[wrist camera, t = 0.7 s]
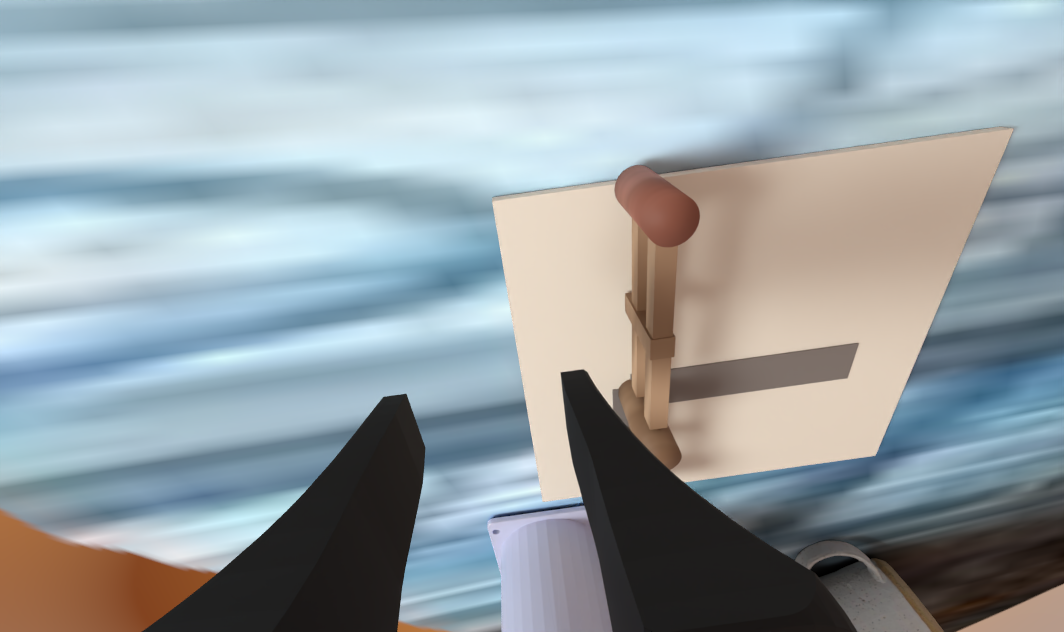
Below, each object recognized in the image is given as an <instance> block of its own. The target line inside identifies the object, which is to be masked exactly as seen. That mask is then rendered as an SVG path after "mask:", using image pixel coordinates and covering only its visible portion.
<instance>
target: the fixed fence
mask: <svg viewBox="0 0 1064 632" xmlns="http://www.w3.org/2000/svg"><path fill="white" fill-rule="evenodd" d="M618 396H619V399H620V402H621V405H622V407H623V410H624V413H625V416H626V419H627V421H628V424H629V427H628V428H629V429H630V430H631V431H632V433H633V434H634V435H635V436H636V437H637V438H638V439H639V440H640V441H641V442H642V443H643V444H644V445H645V446H646V447H647V448H648V449H649V451H650V452H651V453H652V454H653V455H654V456H656V457H657V458H658V459H659V460H660V461H661V462H662V463H663V464H664V465H665V466H666V467H667V468H668V469H669V470H671V469H673V468H674V467H676V466H677V465H678V464H679V462H680V461H681V458H682V454H681V452H680V449H679V447H678V445H677V443H676V441H675V439H674V437H673V434H672V432H671V430H670V428H669V426H668V424H667V428H661V429H654V430H650V429H649V427H648V424H647V422H646V419H645V417H644V401H645V397H638V398H637V397H636V395H635V393H634V390H633V388H632V380H630V379H629V380H627V381H625V382H624V383H622V384H621V386H620V387H619V392H618Z"/></svg>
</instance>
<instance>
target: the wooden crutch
mask: <svg viewBox="0 0 1064 632" xmlns="http://www.w3.org/2000/svg"><path fill="white" fill-rule="evenodd" d="M614 191H615V196H616V199H617V201H618V202H619V203H620V204H621V206H622V207H623V208H624V209H625V210H626V212H627V213H628V214H629V215H630V216H631V217H632V292H631V293H625V312H626V314H627V316H628V318H629V320H630V322H631V324H632V388H633V390H634V393H635V395H636V397H637V398H638V397H645V401H644V417H645V419H646V422H647V424H648V427H649V429H650V430H654V429H661V428H667V424H668V407H669V390H670V374H671V357H674V355H675V339H676V337H675V335H674V334H673V323H674V306H675V289H676V272H677V255H678V245H680V244H682V243H684V242H686V241H687V240H688V239H689V238H690V237H691V236H692V235H693V234H694V232H695V231H696V229H697V227H698V224H699V220H700V212H699V208H698V206H697V204H696V202H695V201H694V200H693V199H691V198H690V197H689V196H687V195H686V194H684V193H683V192H682V191H680V190H679V189H678V188H676V187H675V186H673V185H672V184H671V183H669V182H668V181H666V180H665V179H664V178H662V177H661V176H659V175H658V174H657V173H655V172H654V171H653V170H651V169H650V168H648V167H646V166H643V165H635V166H631V167H629V168H627V169H626V170H624V171H623V172H622V173H621V174H620V175H619V177H618V179H617V181H616V183H615V189H614Z"/></svg>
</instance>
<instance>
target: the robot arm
mask: <svg viewBox="0 0 1064 632" xmlns="http://www.w3.org/2000/svg"><path fill="white" fill-rule="evenodd" d="M560 373H561V382H562V391H563V401H564V410H565V419H566V428H567V434H568V440H569V446H570V452H571V457H572V463H573V467H574V470H575V474H576V477H577V481H578V485H579V488H580V492H581V495H582V499H583V502H584V506H578V507H571V508H563V509H556V510H549V511H542V512H535V513H528V514H520V515H513V516H506V517H499V518H493V519H490V520H489V521H488V531H489V535H490V538H491V542H492V545H493V549H494V552H495V556H496V559H497V563H498V566H499V570H500V573H501V617H502V632H857V630H856V628H855V627H854V625H853V624H852V622H851V620H850V619H849V617H848V616H847V614H846V613H845V611H844V610H843V608H842V607H841V606H840V605H839V603H838V602H837V601H836V599H835V598H834V597H833V595H832V594H831V593H830V591H829V590H828V589H827V588H826V586H825V585H824V584H823V582H822V581H821V580H820V579H819V577H818V576H817V575H816V574H815V573H814V572H812V571H811V570H809V569H808V568H806V567H804V566H803V565H801V564H799V563H798V562H796V561H794V560H793V559H791V558H789V557H788V556H786V555H784V554H783V553H781V552H779V551H778V550H776V549H775V548H773V547H771V546H770V545H768V544H767V543H765V542H764V541H762V540H761V539H759V538H758V537H756V536H755V535H753V534H752V533H750V532H749V531H747V530H746V529H745V528H743V527H742V526H740V525H739V524H737V523H736V522H734V521H733V520H732V519H730V518H729V517H728V516H726V515H725V514H724V513H722V512H721V511H720V510H718V509H717V508H716V507H714V506H713V505H712V504H711V503H709V502H708V501H707V500H705V499H704V498H703V497H701V496H700V495H699V494H697V493H696V492H695V491H694V490H692V489H691V488H690V487H689V486H688V485H687V484H685V483H684V482H683V481H682V480H681V479H680V478H678V477H677V476H676V475H675V474H674V473H673V472H672V471H671V470H669V469H668V468H667V467H666V466H665V465H664V464H663V463H662V462H661V461H660V460H659V459H658V458H657V457H656V456H654V455H653V454H652V453H651V452H650V451H649V449H648V448H647V447H646V446H645V445H644V444H643V443H642V442H641V441H640V440H639V439H638V438H637V437H636V436H635V435H634V434H633V433H632V431H631V430H630V429H629V428H628V427H627V426H626V425H625V423H624V422H623V421H622V420H621V419H620V417H619V416H618V415H617V414H616V413H615V411H614V410H613V409H612V408H611V406H610V405H609V404H608V402H607V401H606V400H605V398H604V397H603V396H602V394H601V393H600V391H599V390H598V389H597V387H596V386H595V384H594V382H593V381H592V379H591V378H590V376H589V374H588V372H587V371H585V370H584V369H581V370H574V371H567V372H560ZM424 459H425V445H424V443H423V440H422V437H421V434H420V431H419V429H418V426H417V423H416V420H415V417H414V414H413V412H412V409H411V406H410V403H409V400H408V397H407V395H406V394H402V395H394V396H387V397H383V398H382V400H381V401H380V402H379V403H378V405H377V406H376V407H375V408H374V410H373V411H372V412H371V413H370V415H369V416H368V417H367V418H366V420H365V421H364V422H363V424H362V425H361V426H360V427H359V429H358V430H357V431H356V433H355V434H354V435H353V436H352V438H351V439H350V440H349V441H348V443H347V444H346V445H345V446H344V447H343V449H342V450H341V451H340V452H339V454H338V455H337V456H336V457H335V459H334V460H333V461H332V462H331V463H330V464H329V466H328V467H327V468H326V469H325V470H324V471H323V472H322V473H321V475H320V476H319V477H318V478H317V479H316V480H315V481H314V482H313V484H312V485H311V486H310V487H309V488H308V489H307V490H306V492H305V493H304V494H303V495H302V496H301V497H300V498H299V499H298V500H297V501H296V502H295V503H294V504H293V505H292V506H291V507H290V508H289V509H288V510H287V511H286V512H285V513H284V514H283V515H282V516H281V517H280V518H279V519H278V520H277V521H276V522H275V523H274V524H273V525H272V526H271V527H270V528H269V529H268V530H267V531H266V532H264V533H263V534H262V535H261V536H260V537H259V538H258V539H257V540H256V541H254V542H253V543H252V544H251V545H250V546H249V547H248V548H246V549H245V550H244V551H243V552H242V553H241V554H240V555H238V556H237V557H236V558H235V559H234V560H233V561H232V562H230V563H229V564H228V565H227V566H226V567H225V568H224V569H222V570H221V571H220V572H219V573H218V574H216V575H215V576H214V577H213V578H212V579H210V580H209V581H208V582H207V583H205V584H204V585H203V586H202V587H200V588H199V589H198V590H197V591H195V592H194V593H193V594H192V595H190V596H189V597H188V598H187V599H185V600H184V601H183V602H181V603H180V604H179V605H177V606H176V607H175V608H174V609H172V610H171V611H170V612H168V613H167V614H166V615H164V616H163V617H162V618H160V619H159V620H158V621H156V622H155V623H153V624H152V625H151V626H149V627H148V628H147V629H145V630H144V631H142V632H397V628H398V619H399V610H400V601H401V592H402V585H403V579H404V573H405V567H406V562H407V557H408V553H409V548H410V543H411V538H412V533H413V529H414V524H415V519H416V514H417V509H418V504H419V499H420V494H421V489H422V484H423V473H424Z"/></svg>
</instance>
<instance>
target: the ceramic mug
mask: <svg viewBox="0 0 1064 632" xmlns="http://www.w3.org/2000/svg"><path fill="white" fill-rule="evenodd" d="M838 555H839V556H850V557H853V558H856V559H858V560H859V562H856V563H853V564H851V565H848V566H846V567H844V568H842V569H840V570H837V571H835V572H832V573H830V574H827V575H824V576H822V577H819V579H820V580H821V581H822V582H823V584H824V585H825V586H826V588H827V589H828V590H829V591H830V593H831V594H832V595H833V597H834V598H835V599H836V601H837V602H838V603H839V605H840V606H841V607H842V608H843V610H844V611H845V613H846V614H847V616H848V617H849V619H850V620H851V622H852V624H853V625H854V627H855V628H856V630H857V632H944V631H943V630H942V628H941V627H940V626H939V625H938V623H937V622H936V621H935V619H934V618H933V617H932V615H931V614H930V613H929V612H928V610H927V609H926V608H925V607H924V605H923V604H922V603H921V602H920V600H919V599H918V598H917V597H916V595H915V594H914V593H913V592H912V590H911V589H910V588H909V587H908V585H907V584H906V583H905V582H904V581H903V580H902V579H901V577H900V576H899V575H898V574H897V573H896V572H895V571H894V569H893V568H892V567H891V566H890V565H889V564H888V563H886V562H885V561H883V560H880V559H876V558H873V559H869V558H868V557H867V556H866V555H865V554H864V553H863V552H861V551H860V550H859V549H858V548H856V547H854V546H853V545H851V544H849V543H846V542H842V541H822V542H818V543H815V544H813V545H810V546H808V547H806V548H805V549H804V550H802V551H801V552H800V553H799V554H798V556H797V557H796V559H795V561H796V562H798V563H799V564H801V565H803V566H804V567H806V568H808V569H809V570H810V569H811V568H812V566H813V565H814V564H815V563H817V562H818V561H820V560H822V559H825V558H828V557H832V556H838Z"/></svg>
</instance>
